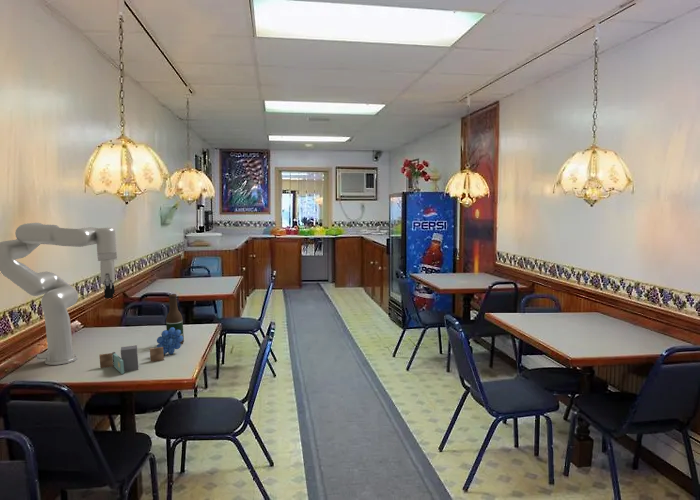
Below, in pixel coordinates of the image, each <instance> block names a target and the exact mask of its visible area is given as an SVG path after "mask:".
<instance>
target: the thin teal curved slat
mask: <svg viewBox="0 0 700 500" xmlns="http://www.w3.org/2000/svg"><path fill="white" fill-rule="evenodd" d="M112 357H113V359H114V366H113V367H114V368H115V369H116V370H117V371H118V372H119V373H120V374H121V375H123V374H125V372H124V364H123V360H122V359H121V356H119V355H118V354H117V353H116V352H115V354H113V355H112Z"/></svg>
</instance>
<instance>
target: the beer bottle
mask: <svg viewBox="0 0 700 500" xmlns="http://www.w3.org/2000/svg"><path fill="white" fill-rule="evenodd" d="M177 297H178V296H177V294H176V293H169V295H168V298H169V300H168V301H169V302H168V303H169V307H168V308H169V310H168V313H167V314H166V318H165V325H166V326H165V328H166V329H165V330H167V331H169V329H170V328H172V327H174V328H175V331H176V330H181V335H182V336H183V341H182V342H179V343H180V344H181V345H184V342H185V340H184V339H185V336H184V323H183V322H184V321H183V320H184V319H183V316H182V313H181V312H180V311H179V307H178V300H177V299H178V298H177Z"/></svg>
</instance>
